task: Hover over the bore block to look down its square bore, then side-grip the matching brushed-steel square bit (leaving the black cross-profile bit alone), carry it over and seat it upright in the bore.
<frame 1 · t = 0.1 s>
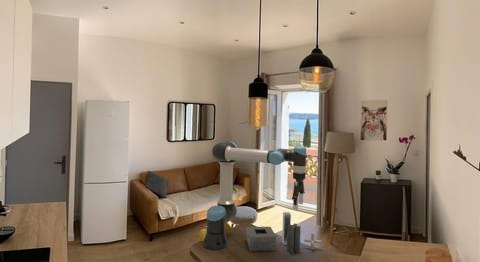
hand: (298, 207, 179), 28 cm above the table, tool pointing down, fingers open, 13 cm apart
pipe connector: (312, 249, 185), on the table
bore block: (260, 245, 188), on the table
cross bit: (293, 251, 181), on the table
square bit: (285, 243, 192), on the table
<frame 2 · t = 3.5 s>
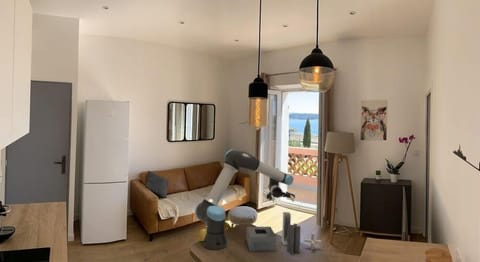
hand: (283, 199, 200), 26 cm above the table, tool horizontal, fingers open, 13 cm apart
nothing on the table moved.
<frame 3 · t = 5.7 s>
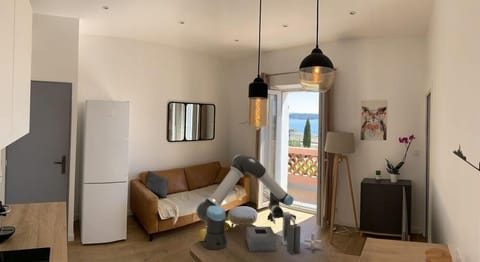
hand: (284, 222, 197), 12 cm above the table, tool horizontal, fingers open, 13 cm apart
nothing on the table moved.
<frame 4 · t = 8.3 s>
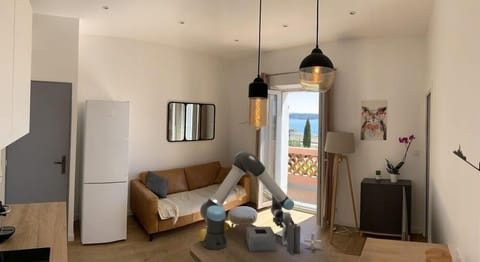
hand: (288, 228, 186), 12 cm above the table, tool horizontal, fingers closed on square bit, 4 cm apart
square bit: (285, 243, 192), on the table, touching gripper
everything else where it was.
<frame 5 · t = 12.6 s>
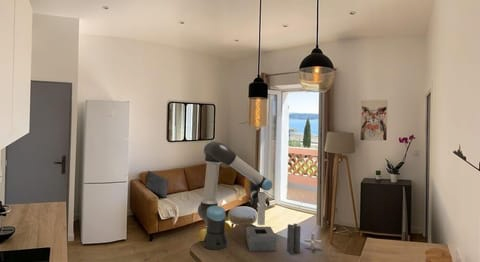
hand: (262, 207, 182), 26 cm above the table, tool horizontal, fingers closed on square bit, 4 cm apart
square bit: (260, 223, 188), point 14 cm above the table, touching gripper
everything else where it was.
when the fingers open (14 cm above the table, at t = 17.0 s): square bit drops 3 cm, resting in bore block.
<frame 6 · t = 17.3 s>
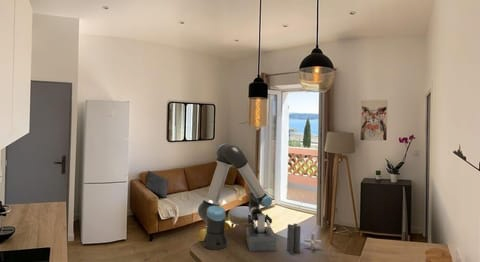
hand: (262, 225, 183), 14 cm above the table, tool horizontal, fingers open, 8 cm apart
square bit: (260, 245, 188), resting in bore block
everything else where it was.
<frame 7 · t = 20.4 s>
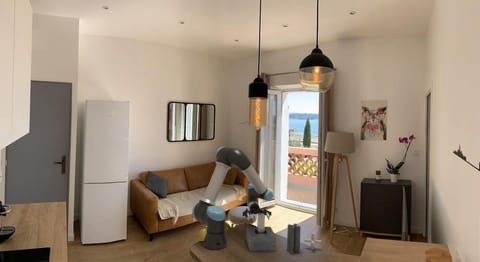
hand: (258, 218, 196), 15 cm above the table, tool horizontal, fingers open, 13 cm apart
nothing on the table moved.
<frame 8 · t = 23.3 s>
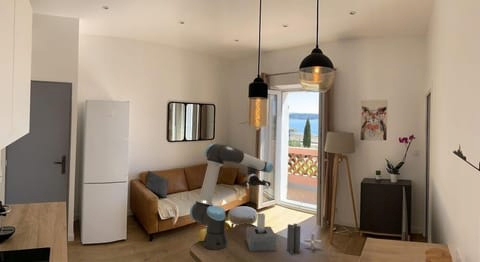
hand: (258, 186, 201), 34 cm above the table, tool horizontal, fingers open, 13 cm apart
nothing on the table moved.
at the end: square bit 0.0 cm off-centre on the bore block, point 0.0 cm above the bore block's base; square bit tilted 0°; the gripper is holding nothing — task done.
